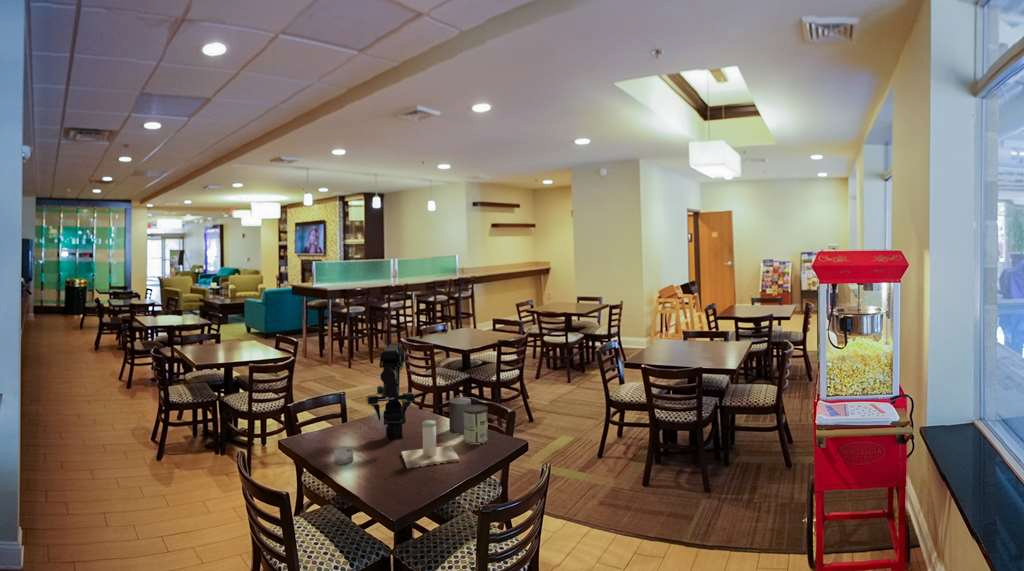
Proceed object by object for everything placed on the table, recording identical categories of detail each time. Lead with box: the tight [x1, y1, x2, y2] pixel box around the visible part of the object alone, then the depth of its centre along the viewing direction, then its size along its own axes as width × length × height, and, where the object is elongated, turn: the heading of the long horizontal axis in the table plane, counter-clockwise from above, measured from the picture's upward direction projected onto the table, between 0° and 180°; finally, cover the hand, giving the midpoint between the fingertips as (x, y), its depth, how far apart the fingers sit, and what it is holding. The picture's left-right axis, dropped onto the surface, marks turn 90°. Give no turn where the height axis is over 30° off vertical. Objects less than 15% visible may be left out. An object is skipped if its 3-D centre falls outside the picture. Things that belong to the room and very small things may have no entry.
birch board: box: [401, 445, 460, 469], centre depth 223 cm, size 20×15×1 cm
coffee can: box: [463, 404, 489, 445], centre depth 242 cm, size 10×10×14 cm
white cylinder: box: [421, 419, 437, 457], centre depth 223 cm, size 5×5×13 cm
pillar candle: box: [448, 397, 472, 434], centre depth 255 cm, size 10×10×15 cm
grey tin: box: [333, 446, 354, 467], centre depth 220 cm, size 7×7×5 cm
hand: (390, 419), depth 233 cm, fingers open, 9 cm apart
